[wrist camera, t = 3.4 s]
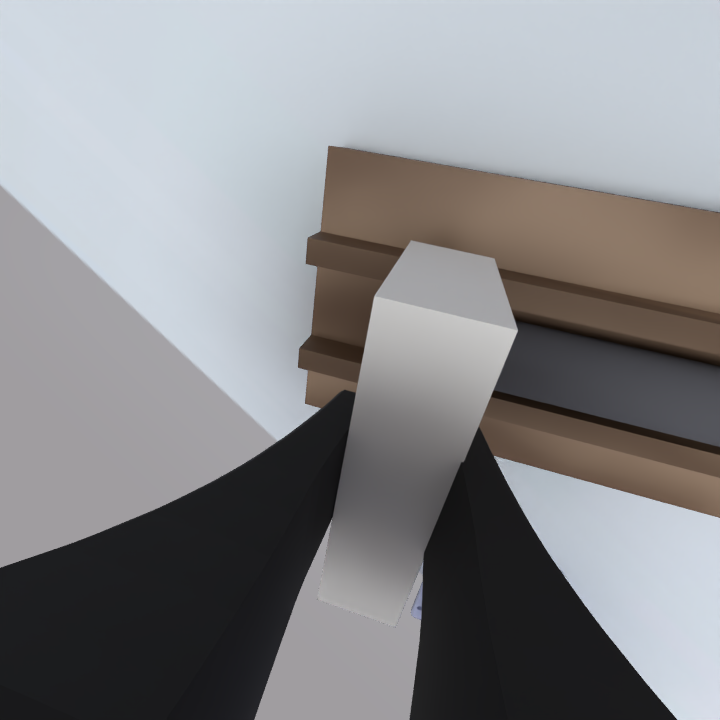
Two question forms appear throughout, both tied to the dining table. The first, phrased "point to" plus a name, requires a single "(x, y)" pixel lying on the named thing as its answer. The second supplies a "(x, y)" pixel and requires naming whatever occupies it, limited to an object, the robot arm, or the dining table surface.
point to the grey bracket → (413, 420)
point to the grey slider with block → (614, 382)
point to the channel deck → (531, 300)
